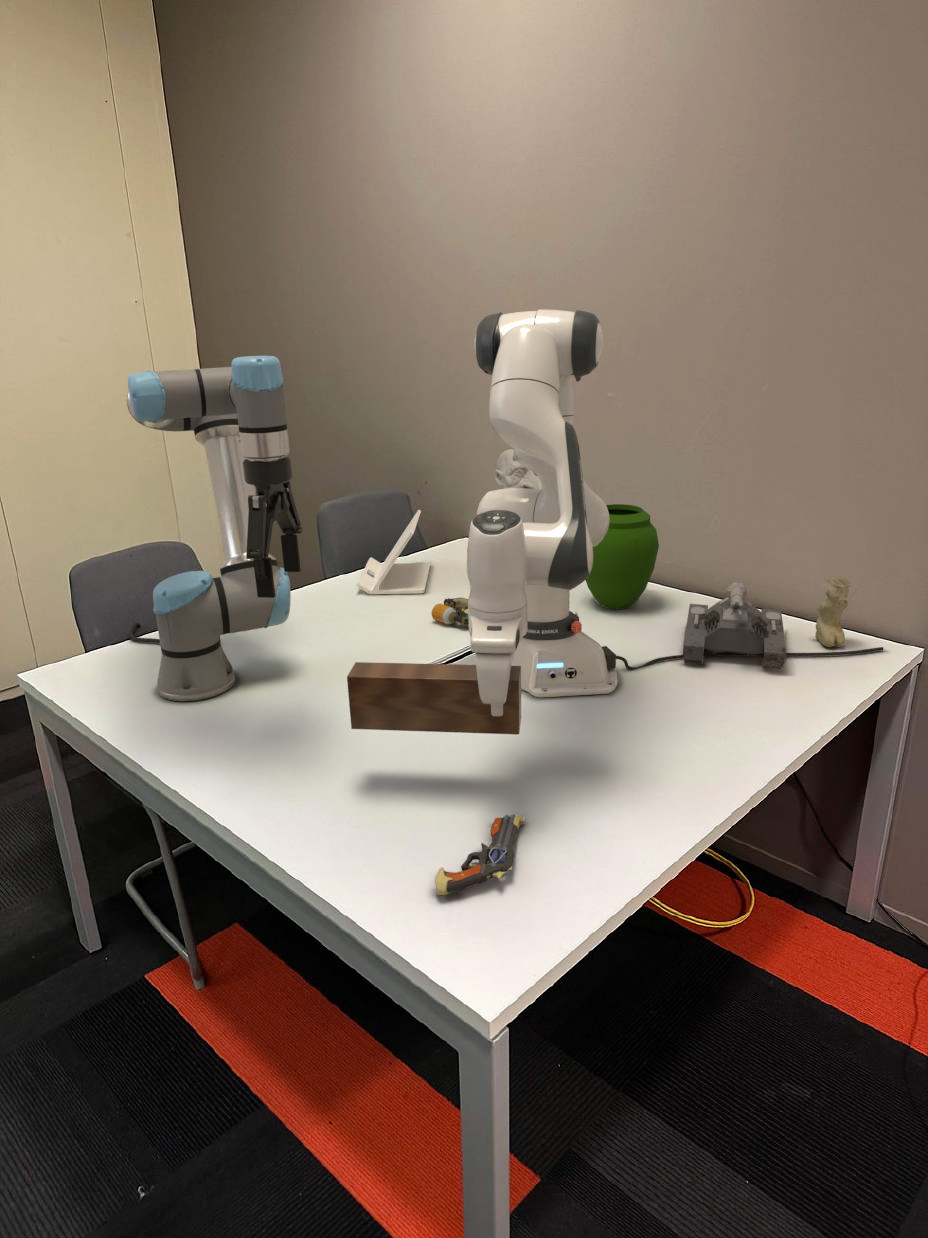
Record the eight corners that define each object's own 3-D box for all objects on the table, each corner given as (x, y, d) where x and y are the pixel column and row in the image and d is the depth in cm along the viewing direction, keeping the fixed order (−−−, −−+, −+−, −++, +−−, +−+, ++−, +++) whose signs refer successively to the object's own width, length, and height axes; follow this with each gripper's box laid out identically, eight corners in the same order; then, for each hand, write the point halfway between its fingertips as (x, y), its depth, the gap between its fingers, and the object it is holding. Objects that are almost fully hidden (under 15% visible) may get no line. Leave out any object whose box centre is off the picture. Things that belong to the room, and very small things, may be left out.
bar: (521, 717, 136) (521, 665, 133) (519, 734, 131) (518, 681, 128) (359, 712, 139) (355, 661, 136) (351, 729, 134) (346, 676, 131)
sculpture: (821, 649, 184) (830, 583, 179) (808, 637, 191) (816, 573, 185) (848, 649, 184) (858, 582, 179) (834, 636, 191) (843, 572, 185)
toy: (688, 623, 201) (692, 562, 195) (778, 630, 195) (785, 567, 190) (681, 666, 178) (686, 598, 173) (783, 675, 172) (791, 605, 167)
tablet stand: (430, 565, 250) (428, 508, 244) (424, 593, 227) (421, 531, 221) (369, 566, 251) (365, 509, 245) (356, 594, 227) (352, 532, 221)
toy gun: (430, 883, 110) (506, 883, 108) (458, 810, 128) (523, 809, 126) (433, 901, 111) (508, 901, 109) (460, 826, 129) (525, 825, 127)
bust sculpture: (503, 593, 225) (502, 460, 212) (483, 567, 247) (480, 445, 234) (562, 587, 228) (563, 456, 215) (536, 562, 250) (536, 441, 237)
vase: (599, 587, 227) (601, 497, 218) (668, 600, 216) (673, 505, 208) (562, 608, 212) (564, 513, 204) (634, 623, 202) (639, 523, 193)
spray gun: (451, 605, 219) (505, 614, 213) (420, 623, 205) (478, 633, 199) (451, 589, 218) (506, 598, 212) (421, 606, 203) (478, 616, 197)
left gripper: (269, 444, 148) (282, 561, 156) (213, 472, 125) (231, 608, 133) (311, 444, 147) (322, 562, 155) (262, 472, 124) (277, 609, 132)
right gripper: (484, 597, 138) (485, 675, 142) (469, 646, 119) (471, 734, 124) (523, 597, 137) (523, 676, 142) (514, 647, 118) (515, 736, 123)
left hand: (280, 583), depth 144 cm, fingers open, 13 cm apart
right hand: (499, 704), depth 132 cm, fingers closed on bar, 5 cm apart
